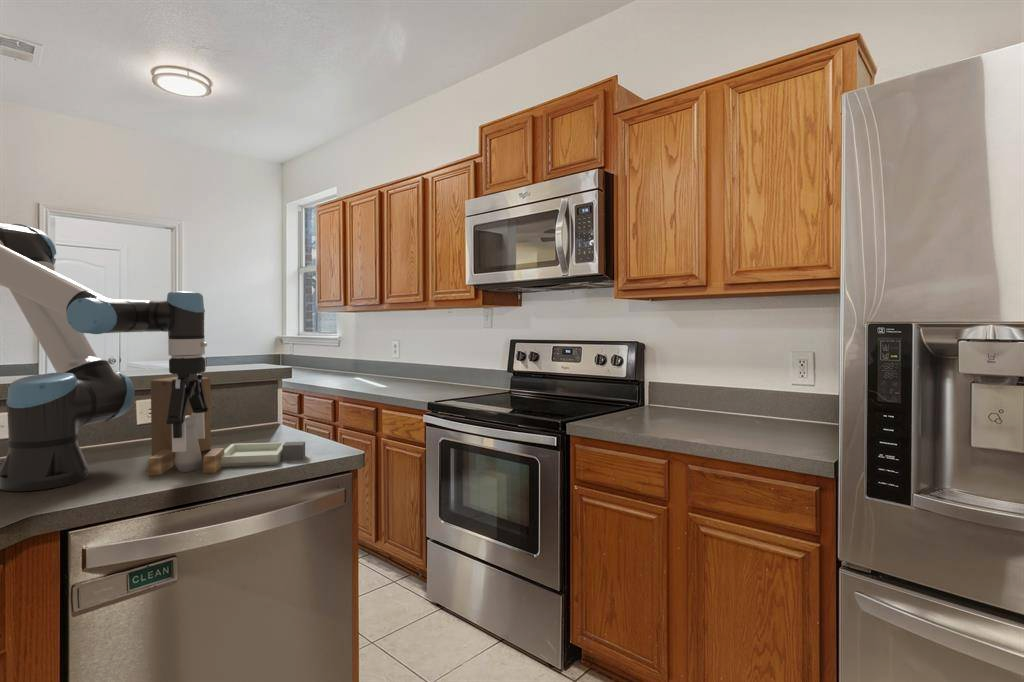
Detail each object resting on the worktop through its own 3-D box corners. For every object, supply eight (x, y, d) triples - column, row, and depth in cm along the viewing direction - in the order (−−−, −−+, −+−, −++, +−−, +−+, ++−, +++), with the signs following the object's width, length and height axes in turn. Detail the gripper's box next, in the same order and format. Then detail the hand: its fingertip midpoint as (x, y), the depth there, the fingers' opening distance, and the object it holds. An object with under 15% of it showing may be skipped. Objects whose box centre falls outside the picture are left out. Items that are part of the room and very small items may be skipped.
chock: (282, 460, 143) (282, 445, 143) (285, 457, 147) (285, 442, 147) (303, 460, 144) (303, 444, 144) (305, 456, 148) (305, 441, 148)
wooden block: (183, 458, 143) (182, 381, 142) (150, 455, 145) (149, 379, 144) (211, 449, 153) (211, 377, 152) (180, 446, 155) (179, 375, 154)
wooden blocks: (148, 475, 128) (148, 458, 127) (162, 466, 135) (161, 450, 135) (215, 472, 131) (215, 455, 131) (224, 463, 139) (224, 447, 139)
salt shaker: (204, 465, 137) (203, 413, 136) (199, 471, 131) (198, 417, 131) (177, 467, 135) (176, 414, 134) (171, 473, 130) (170, 418, 129)
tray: (216, 467, 136) (216, 457, 135) (231, 453, 149) (231, 443, 149) (277, 464, 139) (277, 454, 139) (286, 451, 152) (286, 442, 152)
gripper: (186, 360, 121) (189, 456, 122) (219, 353, 145) (220, 433, 146) (148, 361, 119) (150, 458, 120) (187, 353, 143) (189, 434, 144)
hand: (189, 444), depth 133 cm, fingers open, 13 cm apart
